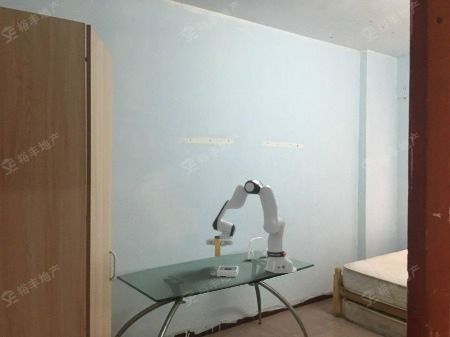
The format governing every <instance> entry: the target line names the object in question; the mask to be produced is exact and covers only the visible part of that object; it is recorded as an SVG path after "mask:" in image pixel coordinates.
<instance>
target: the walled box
mask: <svg viewBox="0 0 450 337" xmlns="http://www.w3.org/2000/svg"><path fill="white" fill-rule="evenodd" d="M239 269H240V268H239V266H238V265H235V266H234V265H219V267H218V269H217V270H216V277H220V276H226V278H227V277H228V278H229V277H230V278H237V277H238V274H239V271H240V270H239Z"/></svg>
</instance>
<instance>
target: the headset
mask: <svg viewBox="0 0 450 337" xmlns="http://www.w3.org/2000/svg"><path fill="white" fill-rule="evenodd" d="M261 240H264V244H265V246H263V247H262V249H261V254H262V255H263V257H267V251H268V243H267V240H266V238H264V237H262V236H259V237H253V238H251V239H250V241H249V243H248V247H247V259H248V260H251V259H253V258H254V256H255V252H254V250H253V249H251V244H252V243H253V242H256V241H261Z"/></svg>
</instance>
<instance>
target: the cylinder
mask: <svg viewBox="0 0 450 337" xmlns="http://www.w3.org/2000/svg"><path fill="white" fill-rule="evenodd" d="M213 238H214V239H215V245H214V257H217V258H218V257H221V246H220V236H219V235H214V237H213Z"/></svg>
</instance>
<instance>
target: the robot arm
mask: <svg viewBox="0 0 450 337" xmlns="http://www.w3.org/2000/svg"><path fill="white" fill-rule="evenodd" d="M248 195H257V196H258V197H259V199H260V203H261V207H262V212H263V224H262V225H263V226H262V227H263V231H264V232H265V233H267V234H268V238H267V240H266V242H267V246H268V251H267V256H266V258H267V260H266V261H267V263H266V267H265V270H266V271H267V272H270V273H273V274H290V273H291V274H294V273H296V272H297V267H295V266H294V264H293V261H292V260H291V259H290V258H288V257H287V256H286V255H287V253H286V252H285V251H284V250H283V238H284V230H285V225H286V222H285V220H284V219H283V218H282V217H280V216H278V209H279V208H278V205H277V200H276V197H275V193H274V191H273V189H272V187H271V186H269V185H264V184H263V182H262V181H260V180H257V179H250V180H247V181H246V182H245V183H244V184H242V183H241V184H238V185H237V186H235V189H234V192H233V194H232V196H231V198H230V199H229V200H226V201H225V202H224V203H223V205H222V207H221V208H220V211H219V213H218V214H217V216H216V217H215V218H214V220H213V222H212V225H211V226H212V228H213V230H214V231H218V232H219V233H220V232H221V233H220V234H219V235H218V236H220V248H221V247H226V246H233V244H234V239H233V237H234V234H235V232H236V226H235V224H234V223H233V222H229V221H227V220H225V219H223V218H224V216H225V214H226V212H227V211H228V210H239V209H241V208H243V207H244V205H245V204H246V201H247V198H248ZM205 240H206V241H205V243H206V245H208V246H215V238H208V239H205Z"/></svg>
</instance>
